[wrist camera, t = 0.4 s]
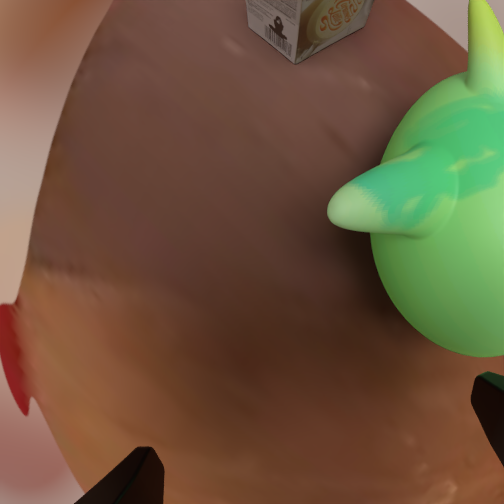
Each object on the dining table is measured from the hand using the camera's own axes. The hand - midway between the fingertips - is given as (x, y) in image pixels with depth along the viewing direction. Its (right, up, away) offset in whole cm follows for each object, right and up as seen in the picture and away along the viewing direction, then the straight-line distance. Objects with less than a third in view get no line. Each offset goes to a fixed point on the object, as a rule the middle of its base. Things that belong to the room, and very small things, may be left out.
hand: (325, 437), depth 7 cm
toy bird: (+13, +7, +15) cm, 21 cm away
